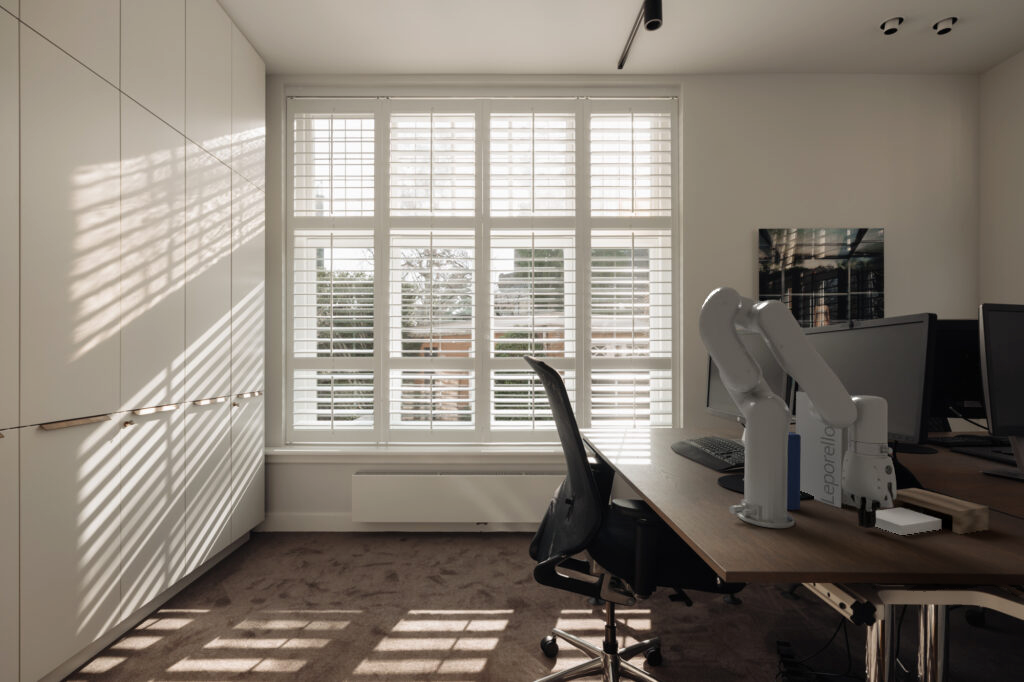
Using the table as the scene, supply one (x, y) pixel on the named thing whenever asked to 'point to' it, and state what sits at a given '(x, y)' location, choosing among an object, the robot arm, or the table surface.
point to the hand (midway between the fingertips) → (866, 526)
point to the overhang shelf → (944, 509)
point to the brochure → (821, 456)
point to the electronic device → (793, 471)
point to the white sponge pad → (905, 521)
